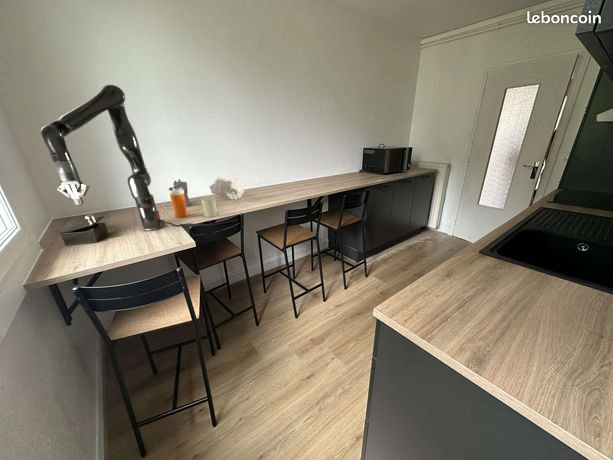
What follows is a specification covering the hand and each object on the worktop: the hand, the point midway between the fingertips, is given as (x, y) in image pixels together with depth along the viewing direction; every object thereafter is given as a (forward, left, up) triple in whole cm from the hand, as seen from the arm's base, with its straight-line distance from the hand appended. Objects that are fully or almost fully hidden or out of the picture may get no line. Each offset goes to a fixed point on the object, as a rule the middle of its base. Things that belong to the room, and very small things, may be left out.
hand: (80, 204), depth 127 cm
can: (-57, -28, -21) cm, 67 cm away
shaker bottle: (-38, -30, -21) cm, 53 cm away
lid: (+5, -4, -12) cm, 14 cm away
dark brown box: (+5, -4, -21) cm, 22 cm away
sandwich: (+2, -4, -20) cm, 20 cm away
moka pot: (-35, -54, -21) cm, 68 cm away
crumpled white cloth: (-68, -65, -21) cm, 97 cm away
